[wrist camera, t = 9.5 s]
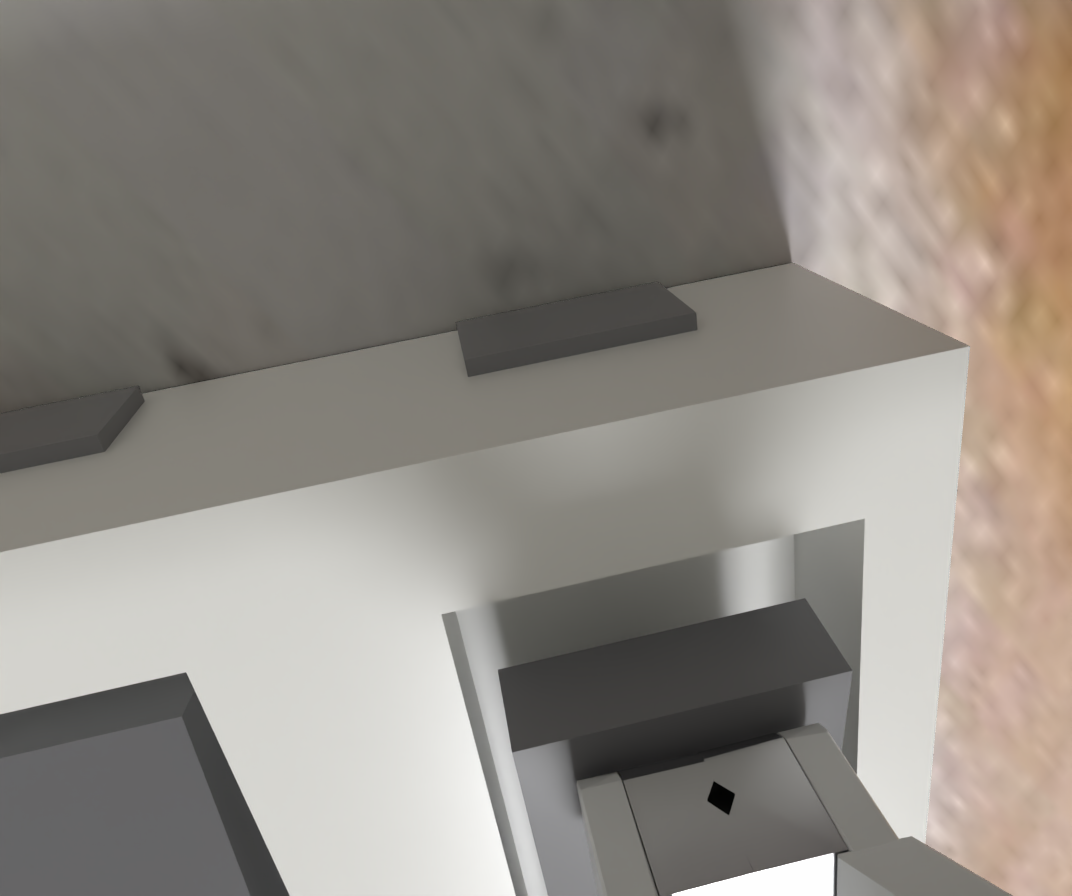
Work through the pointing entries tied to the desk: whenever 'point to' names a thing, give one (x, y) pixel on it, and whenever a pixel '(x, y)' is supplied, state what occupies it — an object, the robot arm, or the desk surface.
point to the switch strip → (489, 548)
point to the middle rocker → (125, 800)
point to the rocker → (660, 712)
